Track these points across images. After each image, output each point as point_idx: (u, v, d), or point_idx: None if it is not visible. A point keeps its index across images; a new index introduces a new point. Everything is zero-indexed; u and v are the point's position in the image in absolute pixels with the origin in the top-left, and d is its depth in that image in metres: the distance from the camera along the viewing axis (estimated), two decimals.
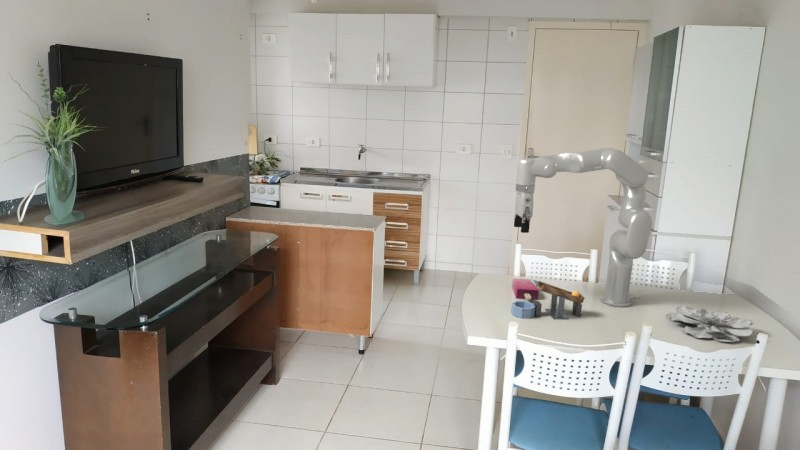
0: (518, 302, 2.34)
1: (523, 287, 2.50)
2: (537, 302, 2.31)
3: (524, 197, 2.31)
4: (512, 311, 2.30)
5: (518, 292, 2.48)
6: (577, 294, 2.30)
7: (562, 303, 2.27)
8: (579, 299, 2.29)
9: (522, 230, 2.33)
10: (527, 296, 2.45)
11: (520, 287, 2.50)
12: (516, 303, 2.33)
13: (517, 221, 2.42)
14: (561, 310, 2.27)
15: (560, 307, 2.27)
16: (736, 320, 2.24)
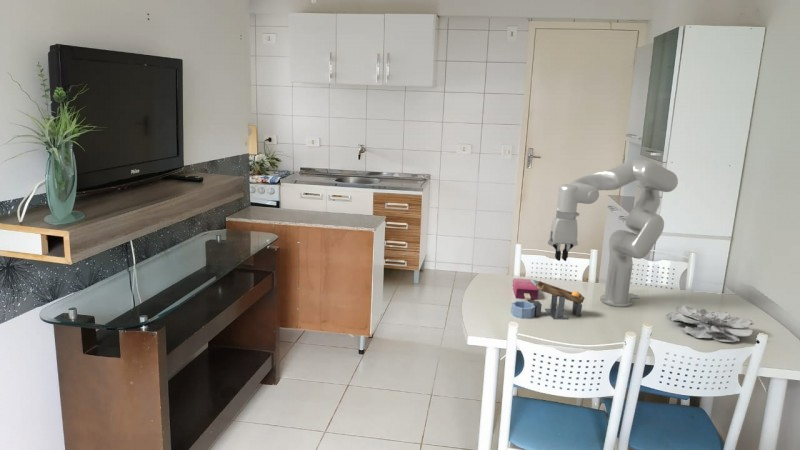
0: (518, 302, 2.34)
1: (523, 287, 2.50)
2: (537, 302, 2.31)
3: None
4: (512, 311, 2.30)
5: (518, 292, 2.48)
6: (577, 294, 2.30)
7: (562, 303, 2.27)
8: (579, 299, 2.29)
9: None
10: (526, 296, 2.45)
11: (520, 287, 2.50)
12: (516, 303, 2.33)
13: None
14: (561, 310, 2.27)
15: (560, 307, 2.27)
16: (736, 320, 2.24)
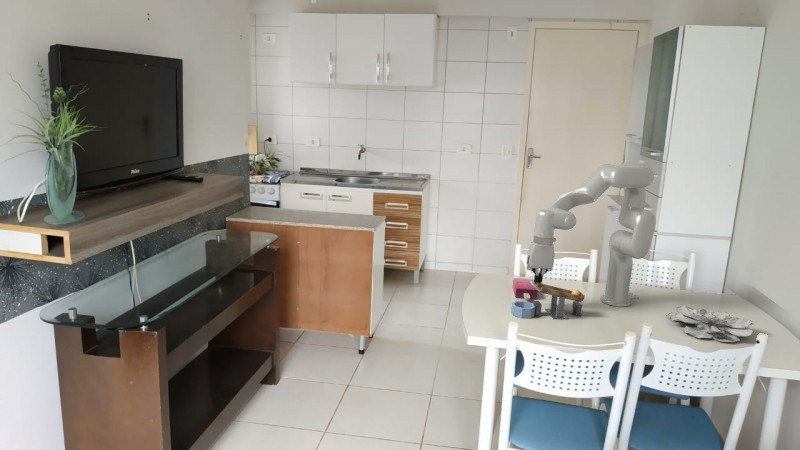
0: (518, 302, 2.34)
1: (522, 287, 2.50)
2: (537, 302, 2.31)
3: None
4: (512, 311, 2.30)
5: (517, 292, 2.49)
6: (577, 293, 2.30)
7: (562, 303, 2.27)
8: (579, 297, 2.28)
9: None
10: (526, 296, 2.45)
11: (519, 287, 2.50)
12: (516, 303, 2.33)
13: None
14: (561, 310, 2.27)
15: (560, 307, 2.27)
16: (736, 320, 2.24)
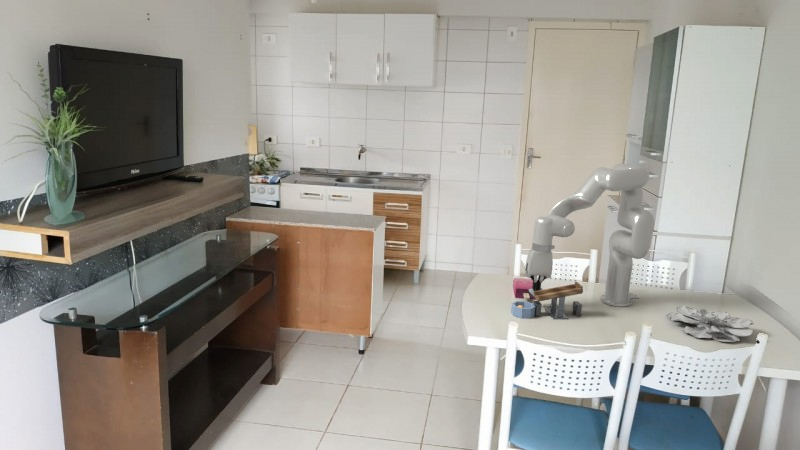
0: (518, 302, 2.34)
1: (522, 287, 2.51)
2: (537, 302, 2.31)
3: None
4: (512, 311, 2.30)
5: (517, 291, 2.49)
6: None
7: (562, 303, 2.27)
8: (578, 290, 2.28)
9: None
10: (525, 295, 2.45)
11: (519, 286, 2.50)
12: (516, 303, 2.33)
13: None
14: (561, 310, 2.27)
15: (560, 307, 2.27)
16: (736, 320, 2.24)
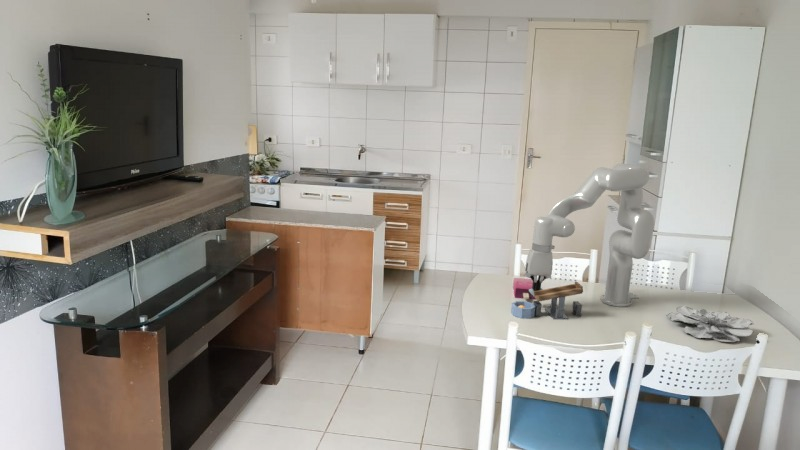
0: (518, 302, 2.34)
1: (522, 286, 2.51)
2: (537, 302, 2.31)
3: None
4: (512, 311, 2.30)
5: (517, 291, 2.49)
6: None
7: (562, 303, 2.27)
8: (578, 290, 2.28)
9: None
10: (525, 295, 2.45)
11: (519, 286, 2.51)
12: (516, 303, 2.33)
13: None
14: (561, 310, 2.27)
15: (560, 307, 2.27)
16: (736, 320, 2.24)
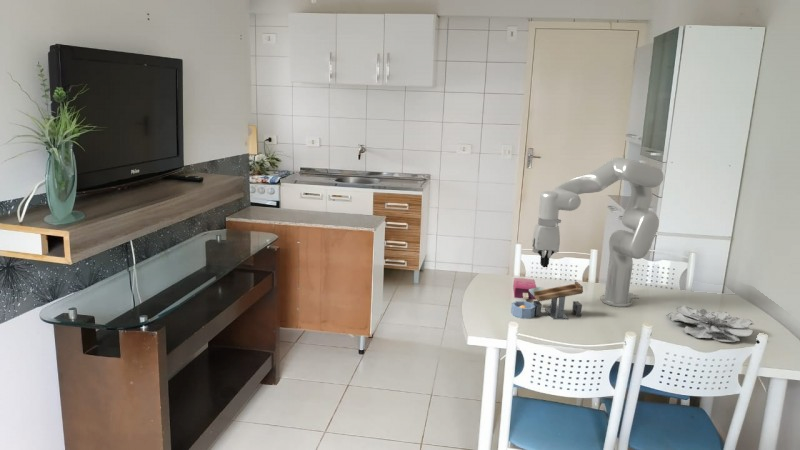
0: (518, 302, 2.34)
1: (522, 286, 2.51)
2: (537, 302, 2.31)
3: None
4: (512, 311, 2.30)
5: (516, 291, 2.49)
6: None
7: (562, 303, 2.27)
8: (578, 290, 2.28)
9: None
10: (524, 295, 2.45)
11: (519, 286, 2.51)
12: (516, 303, 2.33)
13: None
14: (561, 310, 2.27)
15: (560, 307, 2.27)
16: (736, 320, 2.24)
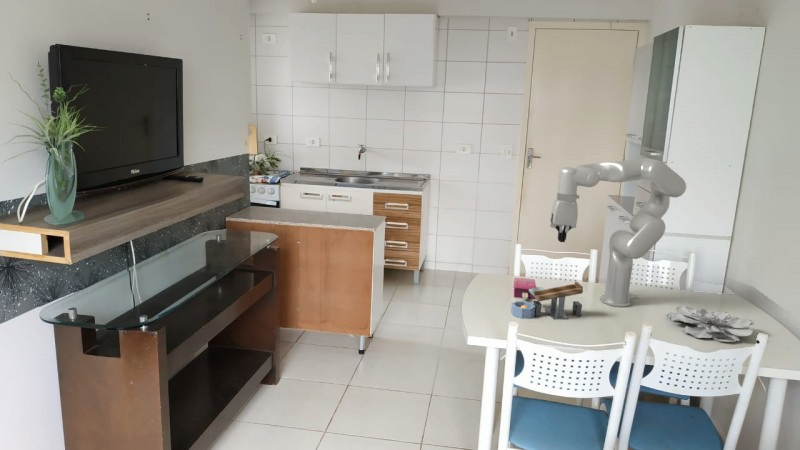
0: (518, 302, 2.34)
1: (521, 286, 2.51)
2: (537, 302, 2.31)
3: None
4: (512, 311, 2.30)
5: (516, 291, 2.50)
6: None
7: (562, 303, 2.27)
8: (578, 290, 2.28)
9: None
10: (524, 295, 2.46)
11: (518, 286, 2.51)
12: (516, 303, 2.33)
13: None
14: (561, 310, 2.27)
15: (560, 307, 2.27)
16: (736, 320, 2.24)
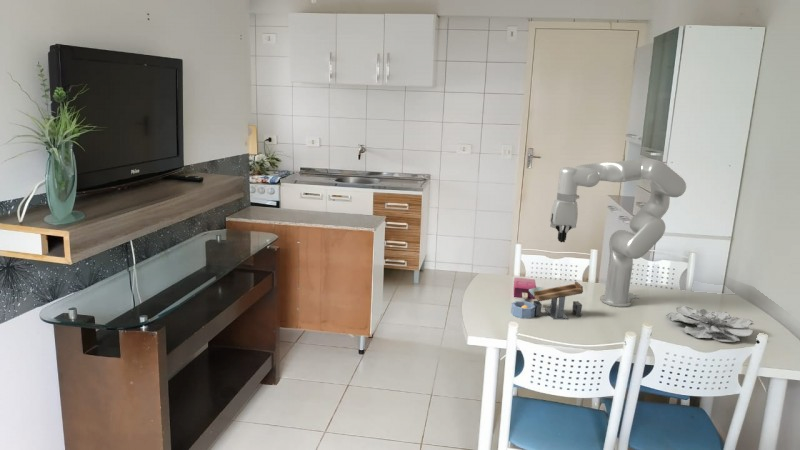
0: (518, 302, 2.34)
1: (521, 286, 2.51)
2: (537, 302, 2.31)
3: None
4: (512, 311, 2.30)
5: (516, 291, 2.50)
6: None
7: (562, 303, 2.27)
8: (578, 290, 2.28)
9: None
10: (524, 295, 2.46)
11: (518, 286, 2.51)
12: (516, 303, 2.33)
13: None
14: (561, 310, 2.27)
15: (560, 307, 2.27)
16: (736, 320, 2.24)
